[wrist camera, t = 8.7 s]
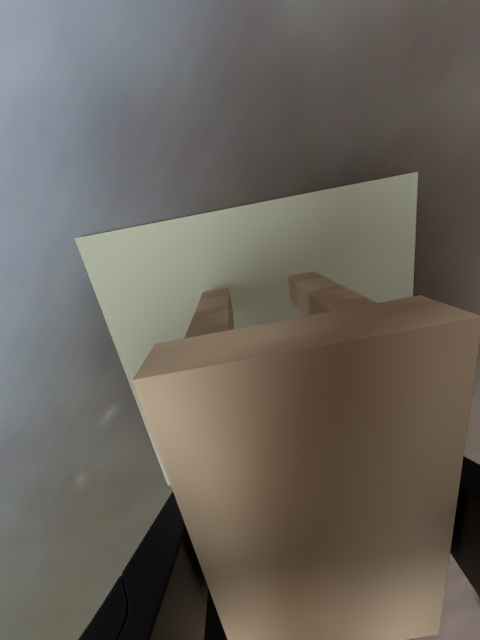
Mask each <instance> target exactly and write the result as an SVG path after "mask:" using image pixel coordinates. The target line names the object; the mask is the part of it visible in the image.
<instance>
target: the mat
mask: <svg viewBox="0 0 480 640" xmlns="http://www.w3.org/2000/svg"><path fill="white" fill-rule="evenodd" d="M417 187H418V172H414V173H408V174H403V175H398V176H393V177H388V178H383V179H378V180H373V181H367V182H362V183H357V184H352V185H347V186H342V187H337V188H331V189H326V190H321V191H316V192H311V193H306V194H301V195H295V196H290V197H285V198H280V199H275V200H270V201H265V202H259V203H254V204H249V205H244V206H239V207H234V208H229V209H224V210H218V211H213V212H208V213H203V214H198V215H193V216H188V217H182V218H177V219H172V220H167V221H162V222H157V223H152V224H146V225H141V226H136V227H131V228H126V229H121V230H116V231H110V232H105V233H100V234H95V235H90V236H85V237H80V238H75V241H76V243H77V246H78V248H79V251H80V254H81V256H82V259H83V262H84V264H85V267H86V270H87V272H88V275H89V278H90V280H91V283H92V286H93V288H94V291H95V294H96V296H97V299H98V302H99V304H100V307H101V310H102V312H103V315H104V317H105V320H106V323H107V325H108V328H109V331H110V333H111V336H112V339H113V341H114V344H115V347H116V349H117V352H118V355H119V357H120V360H121V363H122V365H123V368H124V371H125V373H126V376H127V379H128V381H129V384H130V386H131V389H132V392H133V394H134V397H135V400H136V402H137V405H138V408H139V410H140V413H141V416H142V418H143V421H144V424H145V426H146V429H147V432H148V434H149V437H150V440H151V442H152V445H153V447H154V450H155V453H156V455H157V458H158V461H159V463H160V466H161V469H162V471H163V474H164V477H165V479H166V482H167V485H171V484H170V482H169V479H168V476H167V474H166V471H165V468H164V465H163V463H162V460H161V457H160V454H159V452H158V449H157V446H156V444H155V441H154V438H153V435H152V433H151V430H150V427H149V425H148V422H147V419H146V416H145V414H144V411H143V408H142V405H141V403H140V400H139V397H138V395H137V392H136V389H135V386H134V384H133V381H132V379H133V378H134V376H135V375H136V373H137V372H138V370H139V368H140V367H141V365H142V364H143V362H144V361H145V359H146V357H147V356H148V354H149V353H150V351H151V350H152V348H153V346H154V345H155V344H157V343H162V342H167V341H173V340H178V339H184V338H185V335H186V333H187V330H188V328H189V325H190V323H191V320H192V318H193V315H194V313H195V310H196V308H197V305H198V303H199V300H200V298H201V295H202V293H203V292H205V291H211V290H216V289H221V288H227V287H228V288H229V293H230V298H231V303H232V308H233V318H234V329H238V328H244V327H249V326H255V325H260V324H266V323H271V322H277V321H282V320H288V319H293V318H299V317H304V315H303V314H302V313H301V312H300V311H299V310H298V308H297V307H296V306H295V305H294V304H293V303H292V302H291V297H290V289H289V281H288V276H291V275H297V274H302V273H307V272H313V271H314V272H316V273H318V274H320V275H322V276H324V277H326V278H328V279H330V280H332V281H334V282H336V283H338V284H340V285H342V286H344V287H346V288H348V289H350V290H352V291H354V292H356V293H358V294H360V295H362V296H364V297H366V298H368V299H370V300H372V301H374V302H376V303H380V302H386V301H391V300H397V299H402V298H408V297H413V282H414V258H415V234H416V211H417Z"/></svg>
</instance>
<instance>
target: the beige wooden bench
mask: <svg viewBox="0 0 480 640" xmlns="http://www.w3.org/2000/svg"><path fill="white" fill-rule="evenodd" d="M288 281H289V289H290V297H291V302H292V303H293V304H294V305H295V306H296V307H297V308H298V310H299V311H300V312H301V313H302V314H303V315H304V317H299V318H293V319H288V320H282V321H277V322H271V323H266V324H260V325H255V326H249V327H244V328H238V329H234V318H233V308H232V303H231V298H230V293H229V288H228V287H227V288H221V289H216V290H211V291H205V292H203V293H202V295H201V298H200V300H199V303H198V305H197V308H196V310H195V313H194V315H193V318H192V320H191V323H190V325H189V328H188V330H187V333H186V335H185V338H184V339H178V340H173V341H167V342H162V343H157V344H155V345H154V346H153V348H152V350H151V351H150V353H149V354H148V356H147V357H146V359H145V361H144V362H143V364H142V365H141V367H140V368H139V370H138V372H137V373H136V375H135V376H134V378H133V379H132V381H133V384H134V386H135V389H136V392H137V395H138V397H139V400H140V403H141V405H142V408H143V411H144V414H145V416H146V419H147V422H148V425H149V427H150V430H151V433H152V435H153V438H154V441H155V444H156V446H157V449H158V452H159V454H160V457H161V460H162V463H163V465H164V468H165V471H166V474H167V476H168V479H169V482H170V484H171V487H172V490H173V493H174V495H175V498H176V501H177V503H178V506H179V509H180V512H181V514H182V517H183V520H184V523H185V525H186V528H187V531H188V533H189V536H190V539H191V542H192V544H193V547H194V550H195V552H196V555H197V558H198V561H199V563H200V566H201V569H202V572H203V574H204V577H205V580H206V582H207V585H208V588H209V591H210V593H211V596H212V599H213V601H214V604H215V607H216V610H217V612H218V615H219V618H220V621H221V623H222V626H223V629H224V631H225V634H226V637H227V640H406V639H413V638H419V637H425V636H432V635H438V634H439V628H440V621H441V614H442V606H443V599H444V592H445V585H446V578H447V571H448V563H449V556H450V549H451V542H452V535H453V528H454V520H455V513H456V506H457V499H458V492H459V485H460V478H461V470H462V463H463V456H464V449H465V442H466V435H467V427H468V420H469V413H470V406H471V399H472V392H473V384H474V377H475V370H476V363H477V356H478V349H479V342H480V315H477V314H474V313H471V312H468V311H465V310H462V309H459V308H457V307H454V306H451V305H448V304H445V303H442V302H439V301H436V300H433V299H430V298H428V297H425V296H422V295H419V296H413V297H408V298H402V299H397V300H391V301H386V302H380V303H376V302H374V301H372V300H370V299H368V298H366V297H364V296H362V295H360V294H358V293H356V292H354V291H352V290H350V289H348V288H346V287H344V286H342V285H340V284H338V283H336V282H334V281H332V280H330V279H328V278H326V277H324V276H322V275H320V274H318V273H316V272H314V271H313V272H307V273H302V274H297V275H291V276H288Z"/></svg>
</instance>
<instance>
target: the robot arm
mask: <svg viewBox="0 0 480 640" xmlns="http://www.w3.org/2000/svg"><path fill="white" fill-rule="evenodd" d="M450 553H451V554H452V556H453V557H454V559H455V561H456V562H457V564H458V565H459V567H460V568H461V570H462V571H463V573H464V574H465V576H466V577H467V579H468V580H469V582H470V583H471V585H472V586H473V588H474V589H475V591H476V592H477V594H478V595H479V597H480V465H479V464H477V463H475V462H474V461H472V460H470V459H468V458H466V457H464V456H463V463H462V470H461V478H460V485H459V492H458V499H457V506H456V513H455V520H454V528H453V535H452V542H451V549H450ZM78 640H227V637H226V634H225V631H224V629H223V626H222V623H221V621H220V618H219V615H218V612H217V610H216V607H215V604H214V601H213V599H212V596H211V593H210V591H209V588H208V585H207V582H206V580H205V577H204V574H203V572H202V569H201V566H200V563H199V561H198V558H197V555H196V552H195V550H194V547H193V544H192V542H191V539H190V536H189V533H188V531H187V528H186V525H185V523H184V520H183V517H182V514H181V512H180V509H179V506H178V503H177V501H176V498H175V495H174V493H173V492H172V494H171V495H170V497H169V498H168V500H167V502H166V503H165V505H164V506H163V508H162V510H161V511H160V513H159V514H158V516H157V518H156V519H155V521H154V522H153V524H152V526H151V527H150V529H149V530H148V532H147V534H146V535H145V537H144V538H143V540H142V542H141V543H140V545H139V546H138V548H137V550H136V551H135V553H134V554H133V556H132V558H131V559H130V561H129V563H128V564H127V566H126V567H125V569H124V571H123V572H122V576H120V577H119V578H118V580H117V582H116V583H115V585H114V586H113V588H112V590H111V591H110V593H109V594H108V596H107V597H106V599H105V601H104V602H103V604H102V605H101V607H100V608H99V610H98V611H97V613H96V614H95V616H94V617H93V619H92V620H91V622H90V623H89V625H88V626H87V628H86V629H85V631H84V632H83V633H82V635H81V636H80V638H79V639H78Z"/></svg>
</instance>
